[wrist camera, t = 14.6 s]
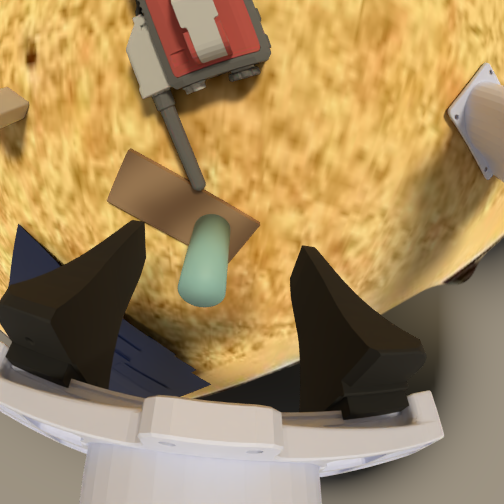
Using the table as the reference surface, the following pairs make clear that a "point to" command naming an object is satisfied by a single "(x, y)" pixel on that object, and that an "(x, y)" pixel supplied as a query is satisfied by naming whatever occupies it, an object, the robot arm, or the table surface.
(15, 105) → the lighter
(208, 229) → the dowel
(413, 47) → the table surface
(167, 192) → the batten
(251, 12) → the walkie-talkie
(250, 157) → the table surface
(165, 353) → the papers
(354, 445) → the robot arm
